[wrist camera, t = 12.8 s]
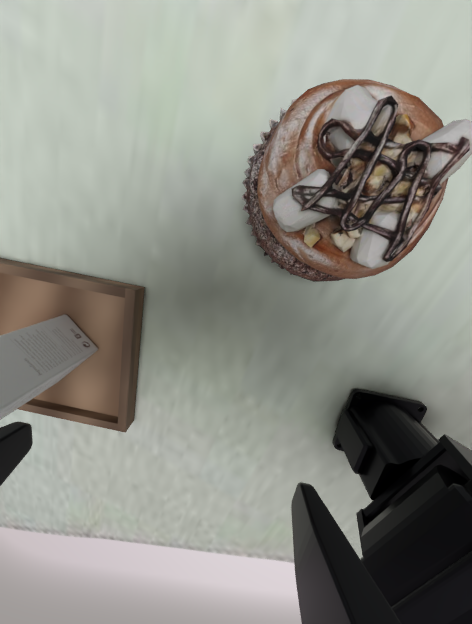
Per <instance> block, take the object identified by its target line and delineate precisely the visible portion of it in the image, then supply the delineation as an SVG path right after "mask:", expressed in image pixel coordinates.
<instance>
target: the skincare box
mask: <svg viewBox="0 0 472 624" xmlns="http://www.w3.org/2000/svg"><path fill="white" fill-rule="evenodd" d="M97 350H98V348H97V347H96V346H95V345H94V344H93V342H92V341H91V340H90V339H89V338H88V337H87V336H86V335H85V334H84V333H83V332H82V331H81V330H80V329H79V328H78V326H77V325H76V324H75V323H74V322H73V321H72V320H71V319H70V318H69V317H68V316H67V315H61V316H58V317H55V318H52V319H49V320H46V321H43V322H40V323H37V324H34V325H31V326H28V327H25V328H22V329H19V330H16V331H13V332H10V333H7V334H4V335H0V420H1V419H2V418H4V417H5V416H7V415H8V414H10V413H11V412H13V411H14V410H16V409H18V408H19V407H21V406H22V405H24V404H25V403H27V402H28V401H30V400H31V399H33V398H34V397H36V396H37V395H39V394H40V393H42V392H44V391H45V390H47V389H48V388H50V387H51V386H53V385H54V384H56V383H57V382H59V381H60V380H61V379H62V378H64V377H65V376H66V375H67V374H69V373H70V372H71V371H72V370H74V369H75V368H76V367H77V366H79V365H80V364H81V363H82V362H84V361H85V360H86V359H87V358H88V357H90V356H91V355H92V354H93V353H95V352H96V351H97Z"/></svg>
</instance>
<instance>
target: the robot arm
mask: <svg viewBox="0 0 472 624" xmlns="http://www.w3.org/2000/svg"><path fill="white" fill-rule="evenodd" d="M357 394H360V395H359V396H356V395H357ZM419 407H420V408H419ZM418 408H419V409H418ZM426 410H427V407H426V406H425V405H424V404H423V403H422V402H418V401H414V400H409V399H404V398H399V397H394V396H390V395H385V394H380V393H375V392H370V391H365V390H361V389H355V390H353V391H352V392H351V395H350V397H349V400H348V403H347V405H346V408H345V410H344V411H343V413H342V415H341V418H340V421H339V423H338V426H337V429H336V431H335V432H336V434H335V437H334V440H333V445H334V447H335V448H336V449H337V450H341V451H344V452H345V454H346V457H347V459H348V461H349V463H350V465H351V468H352V470H353V471H354V472H355V473H356V474H359V475H360V477H361V480H362V482H363V484H364V486H365V488H366V490H367V492H368V494H369V496H370V498H371V500H374V501H372V502H371V503H370V504H369V505H368V506H367V507H366V508H365V509H361V510H360V511H359V512H358V513H357V514H356V515H357V521H358V528H359V535H360V541H361V548H362V555H363V557H362V558H361V560H360V558H359V557H358V555H357V554H356V552H355V551H354V549H353V548H352V546H351V545H350V543H349V541H348V540H347V538H346V537H345V535H344V534H343V532H342V531H341V529H340V528H339V526H338V524H337V523H336V521H335V520H334V518H333V517H332V515H331V514H330V512H329V511H328V509H327V507H326V506H325V504H324V503H323V501H322V500H321V498H320V497H319V495H318V494H317V492H316V490H315V489H314V487H313V486H312V485H310V484H306V483H301V482H300V483H298V485H297V488H296V491H295V494H294V496H293V499H292V527H293V544H294V562H295V575H296V584H297V591H298V599H299V606H300V613H301V620H302V624H472V451H471V450H470V449H468V448H467V447H465V446H463V445H462V444H460V443H458V442H457V441H455V440H453V439H452V438H450V437H449V436H447V435H445V434H444V435H443V436H442V437H441V438H440V439H439V441H440V442H439V441H438V440H437V439H436V438H435V437H434V436H433V435H432V434H431V433H430V431H429V430H428V429H427V428H426V427H425V426H424V425H423V424H422V423H421V421H422V419H423V417H424V415H425V413H426ZM339 443H340V444H339ZM31 446H32V428H31V425H30V424H28V423H23V422H14V423H11V424H9V425H6V426H4V427H1V428H0V486H1V485H2V483H3V482H4V481H5V480H6V478H7V477H8V476H9V475H10V474H11V472H12V471H13V470H14V469H15V468H16V466H17V465H18V464H19V463H20V461H21V460H22V459H23V458H24V457H25V455H26V454H27V453H28V452H29V450H30V449H31Z"/></svg>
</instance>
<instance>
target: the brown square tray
mask: <svg viewBox="0 0 472 624" xmlns="http://www.w3.org/2000/svg"><path fill="white" fill-rule="evenodd" d="M144 289H145V287H141V286H136V285H131V284H126V283H121V282H116V281H111V280H106V279H101V278H96V277H91V276H87V275H82V274H77V273H72V272H67V271H62V270H57V269H52V268H47V267H42V266H37V265H32V264H27V263H22V262H17V261H12V260H7V259H2V258H0V335H4V334H7V333H10V332H13V331H16V330H19V329H22V328H25V327H28V326H31V325H34V324H37V323H40V322H43V321H46V320H49V319H52V318H55V317H58V316H61V315H67V316H68V317H69V318H70V319H71V320H72V321H73V322H74V323H75V324H76V325H77V326H78V328H79V329H80V330H81V331H82V332H83V333H84V334H85V335H86V336H87V337H88V338H89V339H90V340H91V341H92V342H93V344H94V345H95V346H96V347H97V348H98V350H97V351H96V352H95V353H93V354H92V355H91V356H90V357H88V358H87V359H86V360H85V361H84V362H82V363H81V364H80V365H79V366H77V367H76V368H75V369H74V370H72V371H71V372H70V373H69V374H67V375H66V376H65V377H64V378H62V379H61V380H60V381H59V382H57V383H56V384H54V385H53V386H51V387H50V388H48V389H47V390H45V391H44V392H42V393H40V394H39V395H37V396H36V397H34V398H33V399H31V400H30V401H28V402H27V403H25V404H24V405H22V406H21V407H19V408H18V409H19V410H24V411H29V412H33V413H38V414H43V415H47V416H52V417H56V418H61V419H66V420H70V421H75V422H80V423H84V424H89V425H94V426H98V427H103V428H107V429H112V430H117V431H121V432H126V431H127V429H128V428H129V427H130V425H131V424H132V422H133V421H134V413H135V400H136V388H137V375H138V363H139V351H140V338H141V326H142V313H143V301H144Z"/></svg>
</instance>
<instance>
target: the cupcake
mask: <svg viewBox="0 0 472 624" xmlns="http://www.w3.org/2000/svg"><path fill="white" fill-rule="evenodd" d="M269 123H270V127H271V130H270V132H261V134H260V136H261V139H262V141H263V144H255V145H253V150H254V153H255V155H254V156H250V157H249V158H248V161H247V162H248V163H249V165H250V167H251V168H248V169H247V170H246V171H245V172H244V173H245V175H246V177H247V178H246V179H245V180H244V181H243V184H244V185H245V187H246V189H247V192H246V193H244V195H243V196H242V198H243V199H244V200H245V202H246V204H245V206H244V208H243V210H245V211H246V212H247V213H248V214H249V215H250V217H249V219H248V220H247V221H246V222H245V223H247V224H249V225H252V227H253V230H252V232H251V236H256V237H257V241H256V245H259V246H260V247H262V248H263V249H264V250H265V253H264V256H266V255H269V256H270V257H271V258H272V259H271V263H272V262H276V263H278V265H279V267H280V268H282V269H284V268H285V269H286V270H287V271H289V273H290V274H293V275H298V276H300V277H302V278H305V279H308V280H311V281H338V280H342V279H345V278H347V279H357V278H363V277H368V276H373V275H376V274H379V273H381V272H383V271H385V270H387V269H389V268H391V267H393V266H394V265H395V264H397V263H398V262H399V261H400V260H401V259H402V258H404V257H405V256H406V255H407V254H408V253H410V252H411V251H412V250H413V248H414V247H415V246H416V244H417V243H418V242H419V240H420V239H421V238H422V236H423V235H424V233H425V232H426V231H427V229H428V228H429V226H430V224H431V222H432V220H433V218H434V216H435V214H436V212H437V210H438V208H439V206H440V204H441V202H442V200H443V196H444V192H445V189H446V185H447V181H448V177H450V176H451V175H452V174H453V173H455V172H456V171H457V170H458V169H459V168H460V167H461V166H462V165H463V164H464V162H465V161H466V160H467V159H468V158H469V156H470V155H471V154H472V121H469V120H467V119H465V120H458V121H452V122H451V123H449V124H448V125H446V126H443V123H442V120H441V119H440V118H439V117H438V116H437V115H436V114H435V113H434V112H433V111H432V110H431V109H430V108H429V107H428V106H427V105H426V104H425V103H424V102H423V101H422V100H421V99H420V98H418V97H416V96H413V95H411V94H409V93H407V92H405V91H403V90H400V89H398V88H396V87H394V86H391V85H387V84H383V83H380V82H376V81H372V80H356V79H342V80H338V81H333V82H328V83H324V84H321V85H318V86H316V87H313V88H311V89H308V90H307V91H306V92H305V93H304V94H302V95H301V96H300V97H299V98H298V99H297V100H296V99H295V100H292V103H291V106H290V107H289V109H288V110H287V111H286V110H284V109H282V108H281V112H280V122H279V123H278V121H275V120H272V119H271V120H270V121H269Z"/></svg>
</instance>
